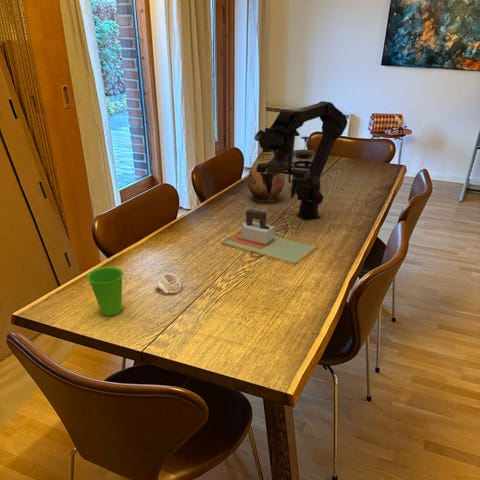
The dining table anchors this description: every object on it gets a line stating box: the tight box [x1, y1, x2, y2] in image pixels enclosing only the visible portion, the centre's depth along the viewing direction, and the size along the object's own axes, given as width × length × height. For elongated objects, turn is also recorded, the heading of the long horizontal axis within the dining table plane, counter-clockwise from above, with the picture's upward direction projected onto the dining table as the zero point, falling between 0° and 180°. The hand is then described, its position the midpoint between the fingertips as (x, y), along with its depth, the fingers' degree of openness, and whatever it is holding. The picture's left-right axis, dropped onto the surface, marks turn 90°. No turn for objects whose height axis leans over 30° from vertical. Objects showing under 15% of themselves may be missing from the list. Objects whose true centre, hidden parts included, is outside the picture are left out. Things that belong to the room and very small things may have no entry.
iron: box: [238, 208, 275, 246], centre depth 162 cm, size 11×6×10 cm, turn 60°
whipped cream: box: [155, 272, 182, 294], centre depth 135 cm, size 8×7×5 cm
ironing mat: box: [223, 232, 317, 264], centre depth 162 cm, size 28×15×1 cm, turn 56°
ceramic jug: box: [247, 126, 285, 204], centre depth 195 cm, size 17×15×30 cm
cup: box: [86, 266, 124, 317], centre depth 123 cm, size 9×9×11 cm
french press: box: [288, 135, 316, 185], centre depth 208 cm, size 12×9×23 cm
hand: (280, 195), depth 169 cm, fingers open, 9 cm apart
